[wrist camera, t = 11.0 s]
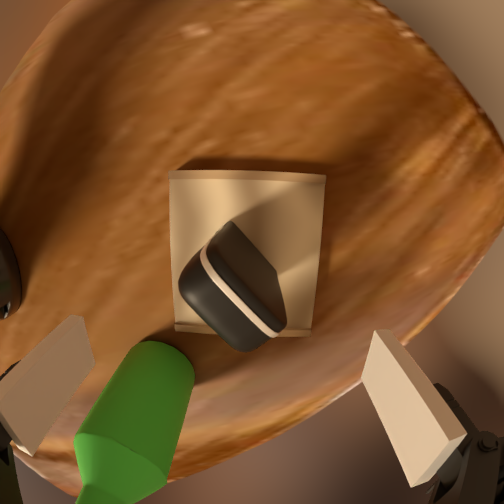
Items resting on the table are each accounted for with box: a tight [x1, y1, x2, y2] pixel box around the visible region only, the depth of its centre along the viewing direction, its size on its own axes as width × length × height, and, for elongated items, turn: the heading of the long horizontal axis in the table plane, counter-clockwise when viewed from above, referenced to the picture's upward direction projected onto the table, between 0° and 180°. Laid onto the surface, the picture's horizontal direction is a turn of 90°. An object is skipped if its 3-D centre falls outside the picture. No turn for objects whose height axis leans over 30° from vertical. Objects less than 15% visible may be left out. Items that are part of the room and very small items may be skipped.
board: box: [168, 170, 326, 337], centre depth 27 cm, size 14×16×2 cm
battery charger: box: [178, 221, 287, 352], centre depth 21 cm, size 7×4×11 cm, turn 41°
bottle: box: [73, 341, 195, 504], centre depth 19 cm, size 9×9×25 cm
